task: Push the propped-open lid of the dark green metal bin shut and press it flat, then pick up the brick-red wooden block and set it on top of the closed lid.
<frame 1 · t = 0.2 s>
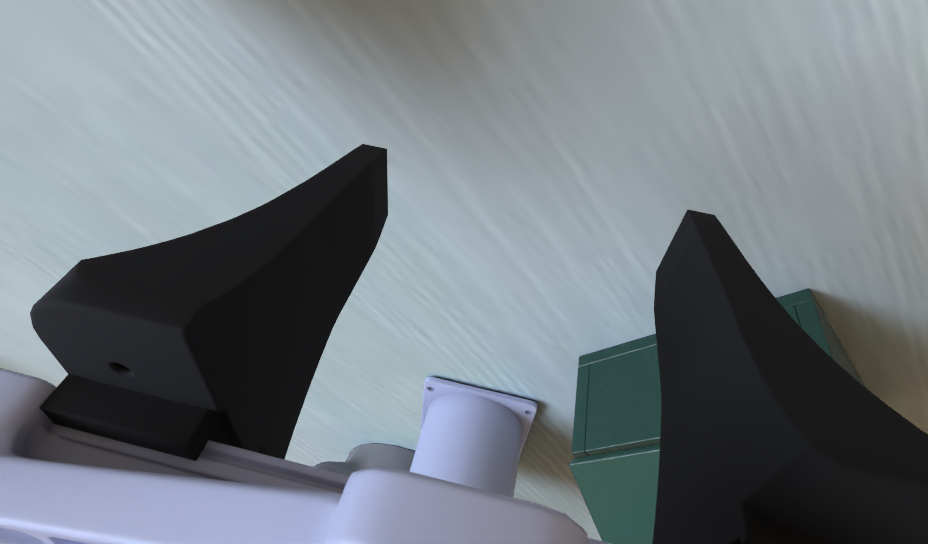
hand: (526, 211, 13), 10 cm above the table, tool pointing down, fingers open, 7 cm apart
bin: (721, 379, 31), on the table
coffee mug: (388, 460, 49), on the table
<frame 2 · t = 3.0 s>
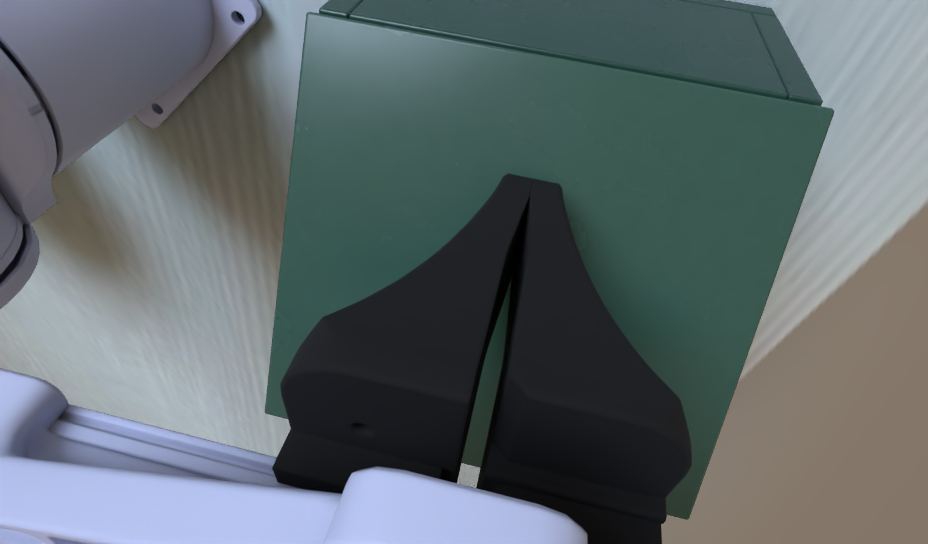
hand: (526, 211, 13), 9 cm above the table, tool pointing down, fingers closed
bin: (545, 118, 21), on the table
bin lid: (510, 279, 14), point 10 cm above the table, hinge at 31.0°, touching gripper
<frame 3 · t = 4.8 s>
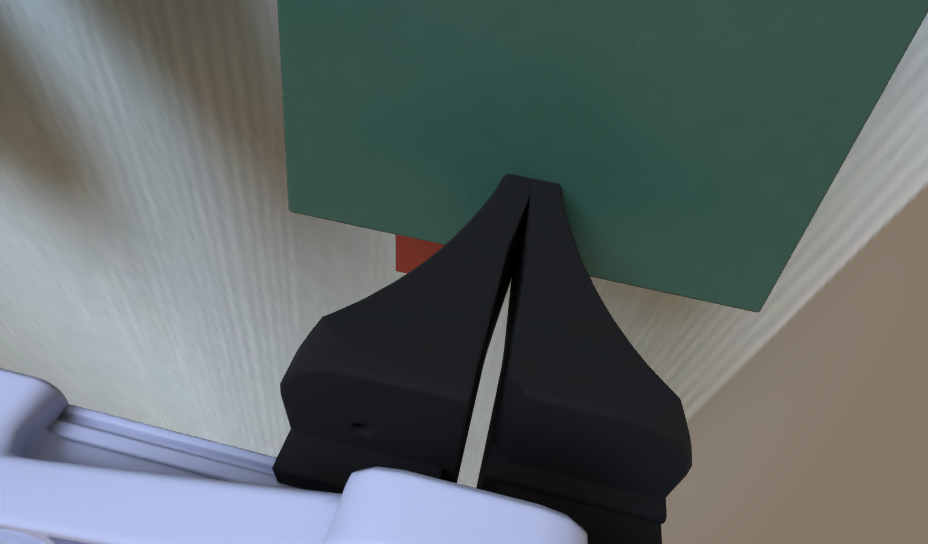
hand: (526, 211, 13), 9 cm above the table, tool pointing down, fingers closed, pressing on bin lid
bin lid: (566, 30, 11), point 8 cm above the table, hinge at 12.4°, touching gripper
block: (462, 191, 25), on the table
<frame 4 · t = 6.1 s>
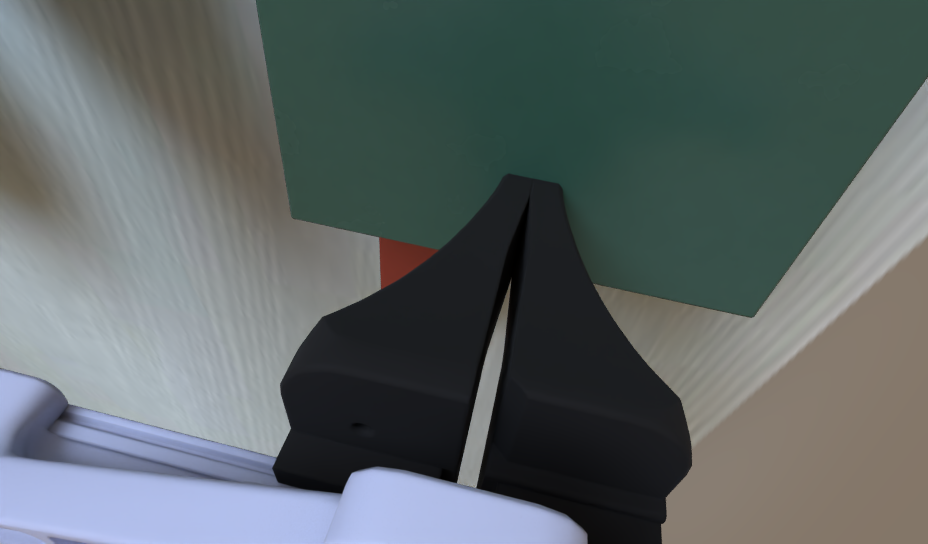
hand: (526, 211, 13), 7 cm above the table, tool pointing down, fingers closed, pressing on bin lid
bin lid: (561, 54, 11), point 7 cm above the table, hinge at 1.7°, touching gripper
block: (453, 217, 23), on the table
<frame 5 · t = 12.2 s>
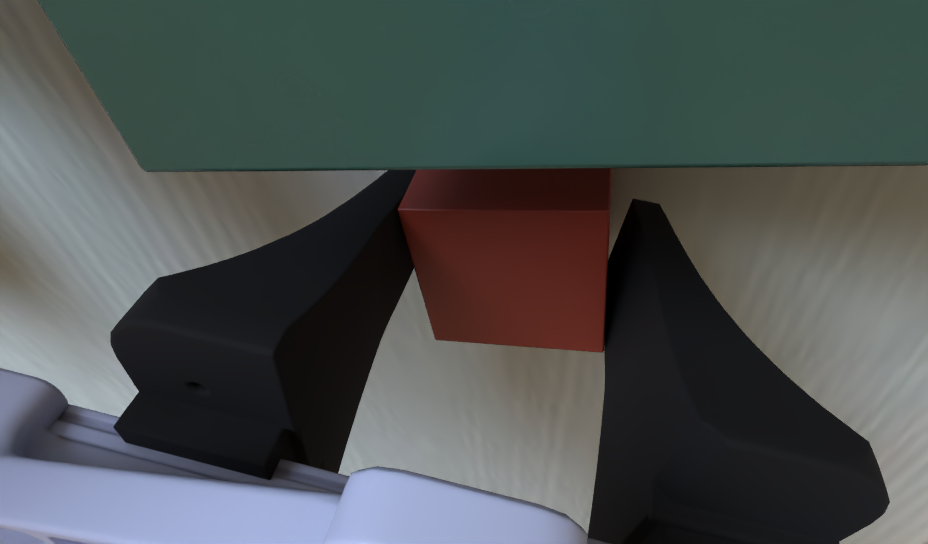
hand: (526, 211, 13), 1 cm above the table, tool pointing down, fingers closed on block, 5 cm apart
block: (531, 178, 14), on the table, touching gripper
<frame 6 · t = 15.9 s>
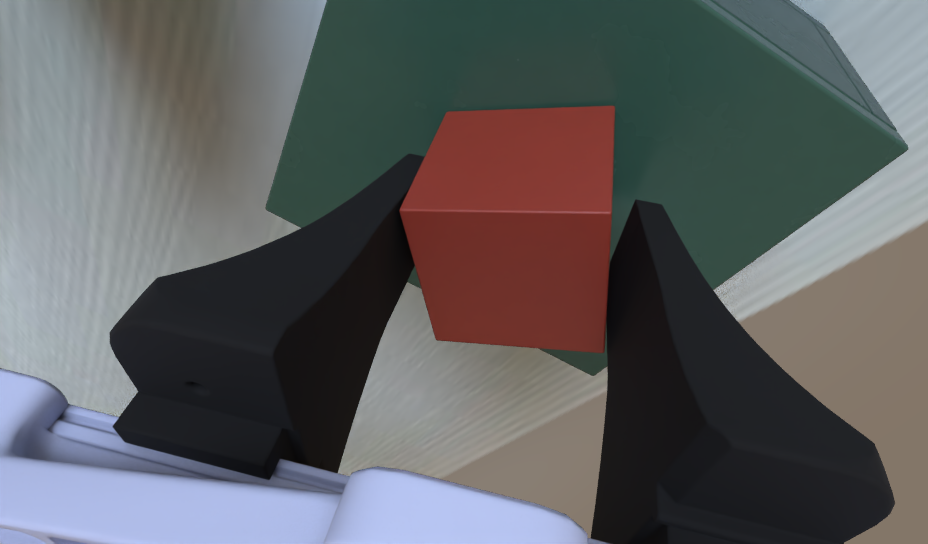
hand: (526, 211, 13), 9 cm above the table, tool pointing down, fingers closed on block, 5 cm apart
bin: (558, 62, 19), on the table
bin lid: (529, 178, 14), point 7 cm above the table, hinge at 1.1°, touching block
block: (532, 178, 14), point 7 cm above the table, touching bin lid, gripper
when the fingers open (9 cm above the table, at t = 16.0 s): block stays where it is, resting on bin lid.
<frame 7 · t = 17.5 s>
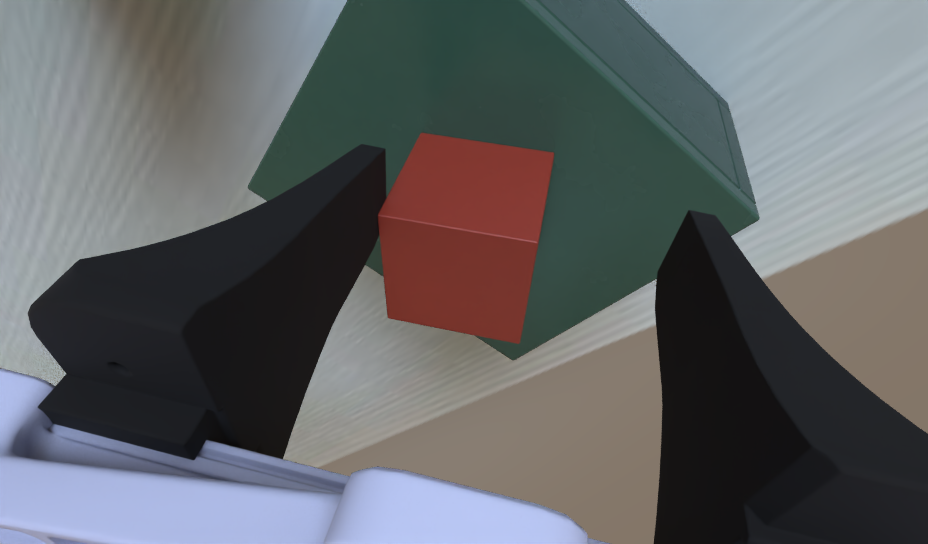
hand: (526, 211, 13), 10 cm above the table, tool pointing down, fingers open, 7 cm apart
bin: (514, 94, 22), on the table
bin lid: (478, 196, 18), point 7 cm above the table, hinge at -0.3°, touching bin, block
block: (482, 196, 17), point 7 cm above the table, touching bin lid, gripper
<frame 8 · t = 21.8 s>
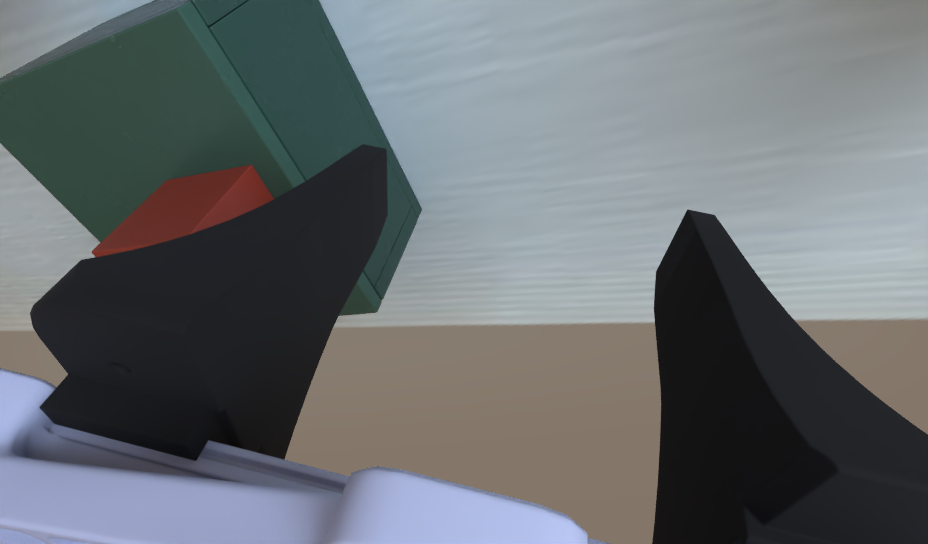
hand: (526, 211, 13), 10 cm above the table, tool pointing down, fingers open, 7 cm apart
bin: (273, 122, 26), on the table
bin lid: (188, 209, 21), point 7 cm above the table, hinge at -0.3°, touching bin, block
block: (239, 216, 20), point 7 cm above the table, touching bin lid
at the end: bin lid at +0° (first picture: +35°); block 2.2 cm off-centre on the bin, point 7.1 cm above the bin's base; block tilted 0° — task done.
